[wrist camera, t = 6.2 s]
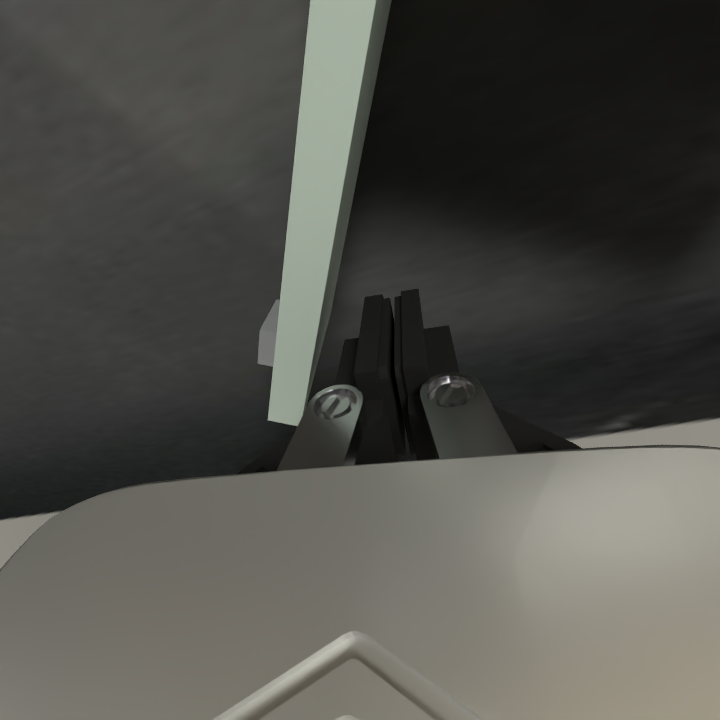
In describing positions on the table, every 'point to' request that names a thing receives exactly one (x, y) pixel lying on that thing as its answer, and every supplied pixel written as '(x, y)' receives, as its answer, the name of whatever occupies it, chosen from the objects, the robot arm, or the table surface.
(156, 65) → the table surface
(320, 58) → the side door
